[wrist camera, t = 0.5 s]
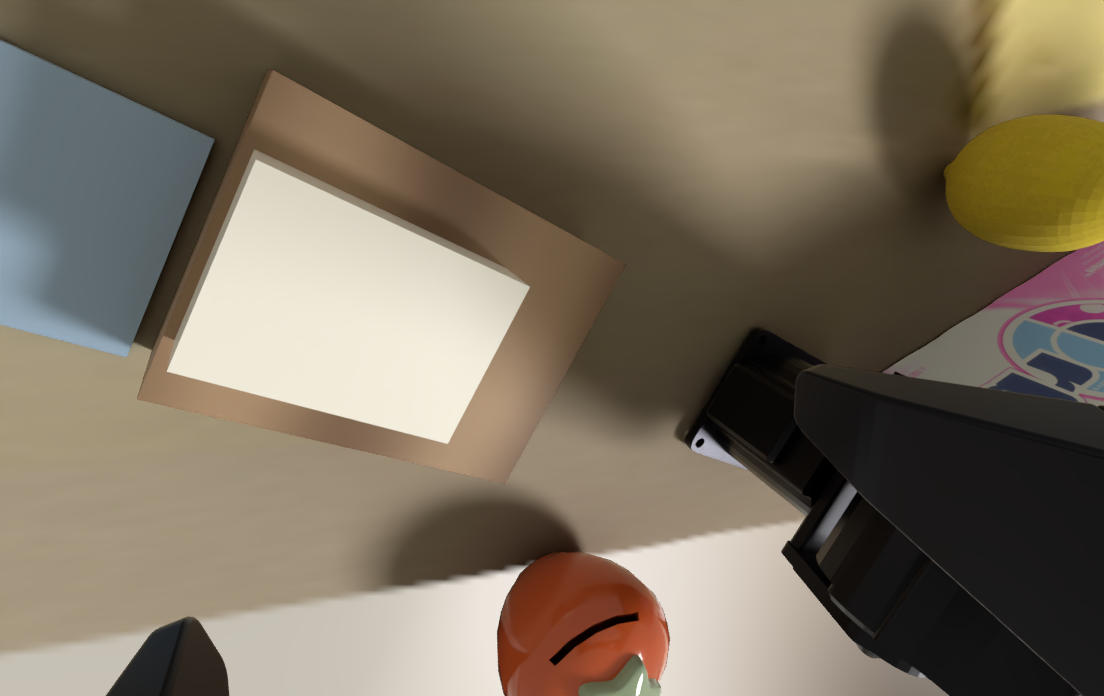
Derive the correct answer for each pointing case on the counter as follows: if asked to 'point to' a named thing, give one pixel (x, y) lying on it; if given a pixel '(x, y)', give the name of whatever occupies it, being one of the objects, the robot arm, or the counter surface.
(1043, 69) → the counter surface
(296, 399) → the white rectangular block
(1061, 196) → the lemon
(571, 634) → the tomato
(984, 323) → the gum box
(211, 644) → the robot arm
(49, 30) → the counter surface
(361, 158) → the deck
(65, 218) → the mat
